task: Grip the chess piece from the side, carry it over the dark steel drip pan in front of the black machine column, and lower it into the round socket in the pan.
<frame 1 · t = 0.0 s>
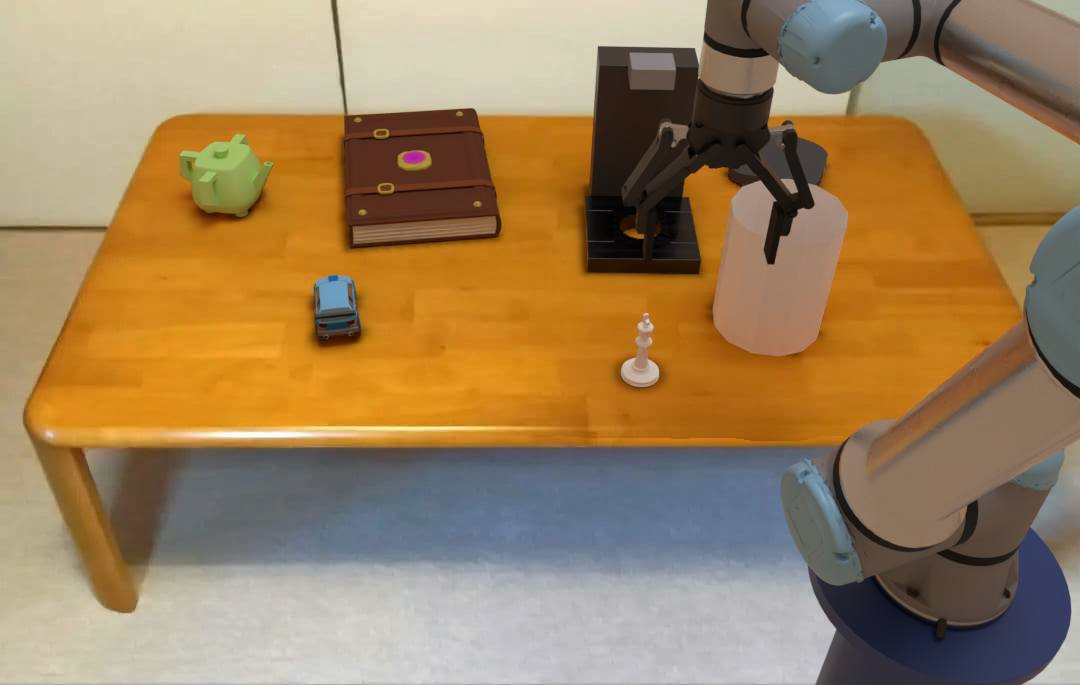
hand: (707, 256, 113), 21 cm above the table, tool pointing down, fingers open, 13 cm apart
toy car: (337, 319, 137), on the table
container: (765, 321, 139), on the table
machine column: (634, 198, 160), on the table
teapot: (234, 203, 157), on the table
book: (419, 185, 162), on the table
media streaming box: (776, 171, 167), on the table
chess piece: (639, 375, 130), on the table
drip pan: (639, 240, 152), on the table
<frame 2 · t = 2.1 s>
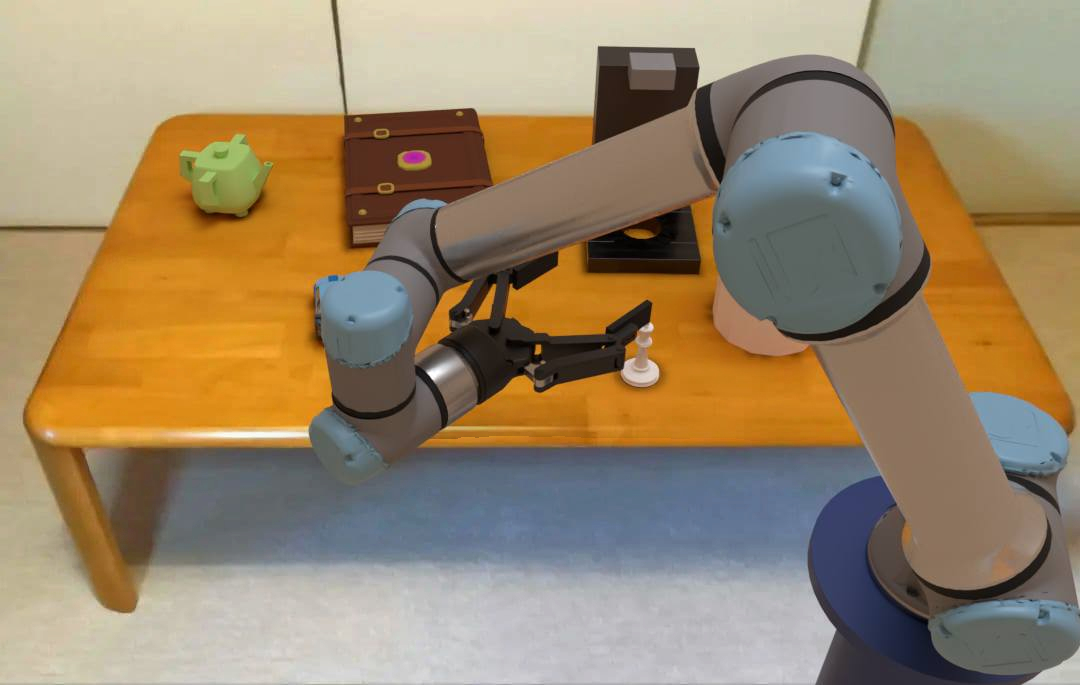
hand: (601, 281, 111), 20 cm above the table, tool horizontal, fingers open, 13 cm apart
nothing on the table moved.
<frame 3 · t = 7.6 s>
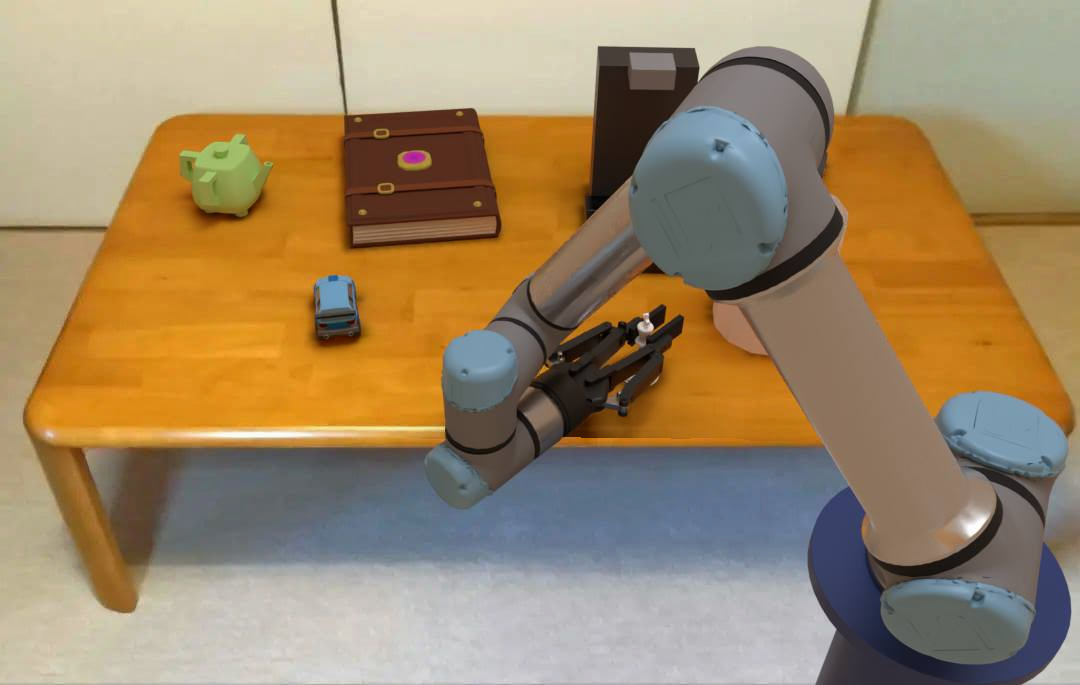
hand: (671, 318, 129), 6 cm above the table, tool horizontal, fingers closed on chess piece, 2 cm apart
chess piece: (639, 375, 130), on the table, touching gripper
everything else where it was.
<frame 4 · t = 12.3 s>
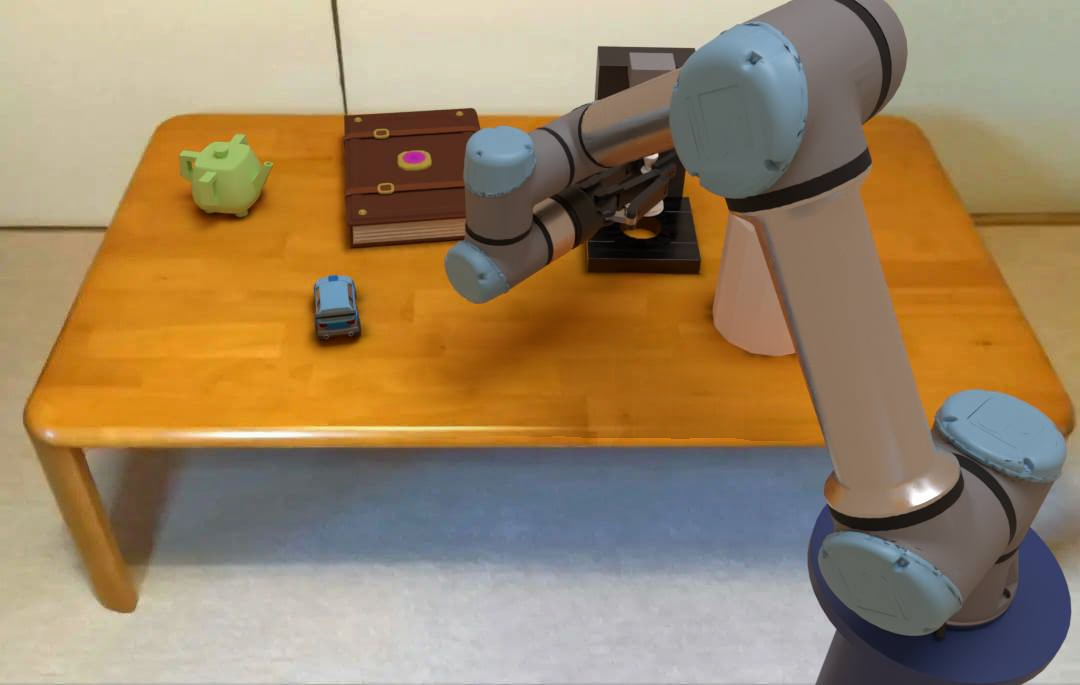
hand: (675, 152, 136), 18 cm above the table, tool horizontal, fingers closed on chess piece, 2 cm apart
chess piece: (644, 207, 137), point 12 cm above the table, touching gripper
everything else where it was.
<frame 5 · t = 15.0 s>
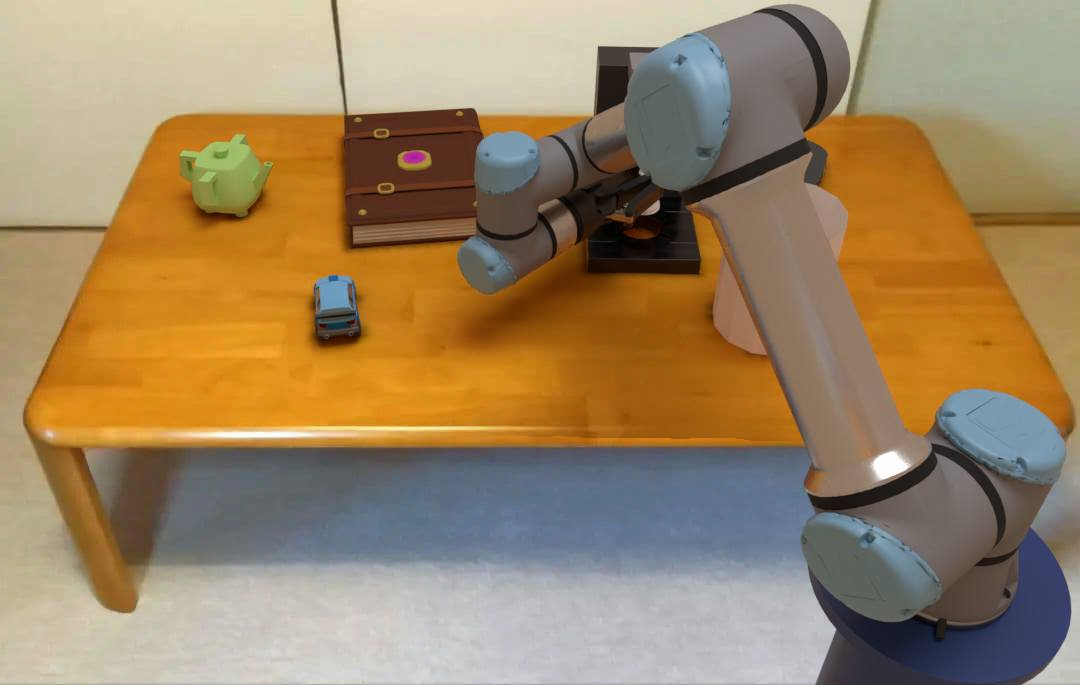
hand: (670, 155, 147), 12 cm above the table, tool horizontal, fingers closed on chess piece, 2 cm apart
chess piece: (642, 206, 148), point 6 cm above the table, touching gripper
everything else where it was.
when the fingers open (6 cm above the table, at t = 16.9 s): chess piece stays where it is, resting in drip pan.
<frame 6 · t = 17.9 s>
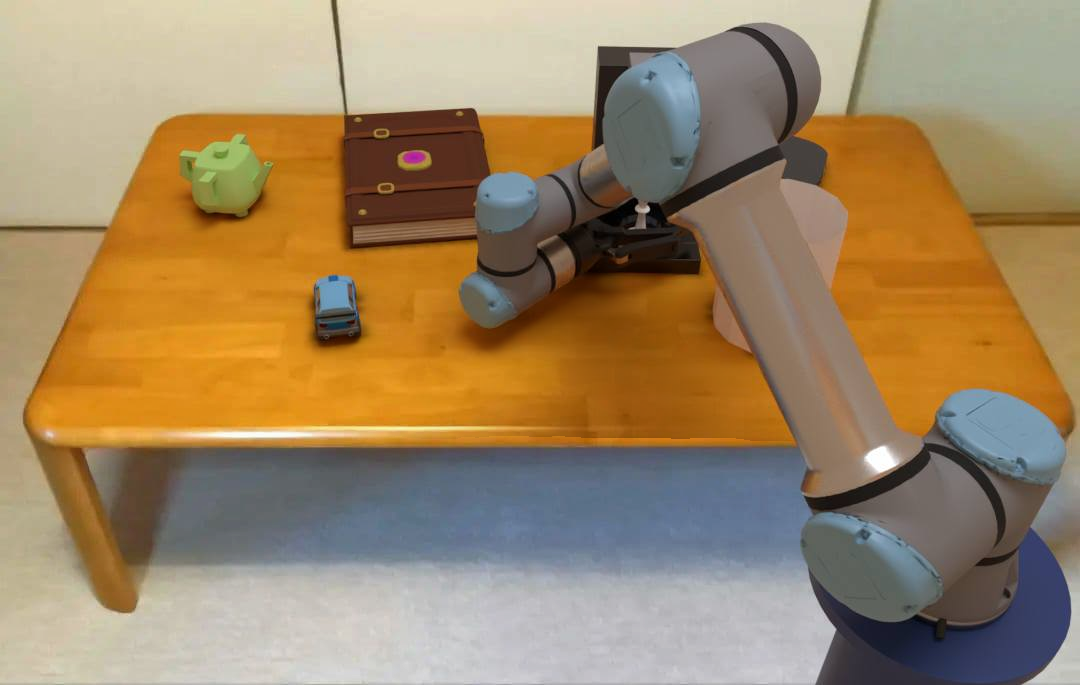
hand: (657, 194, 149), 7 cm above the table, tool horizontal, fingers open, 13 cm apart
chess piece: (639, 241, 152), resting in drip pan
everything else where it was.
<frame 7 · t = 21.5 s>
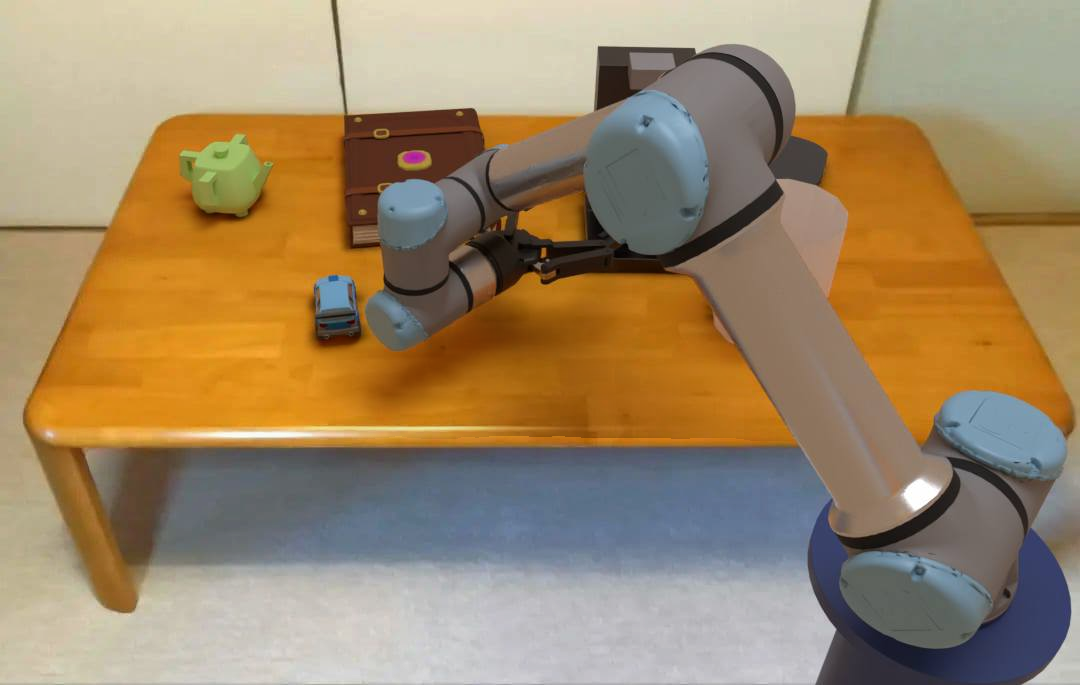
hand: (594, 203, 137), 12 cm above the table, tool horizontal, fingers open, 13 cm apart
nothing on the table moved.
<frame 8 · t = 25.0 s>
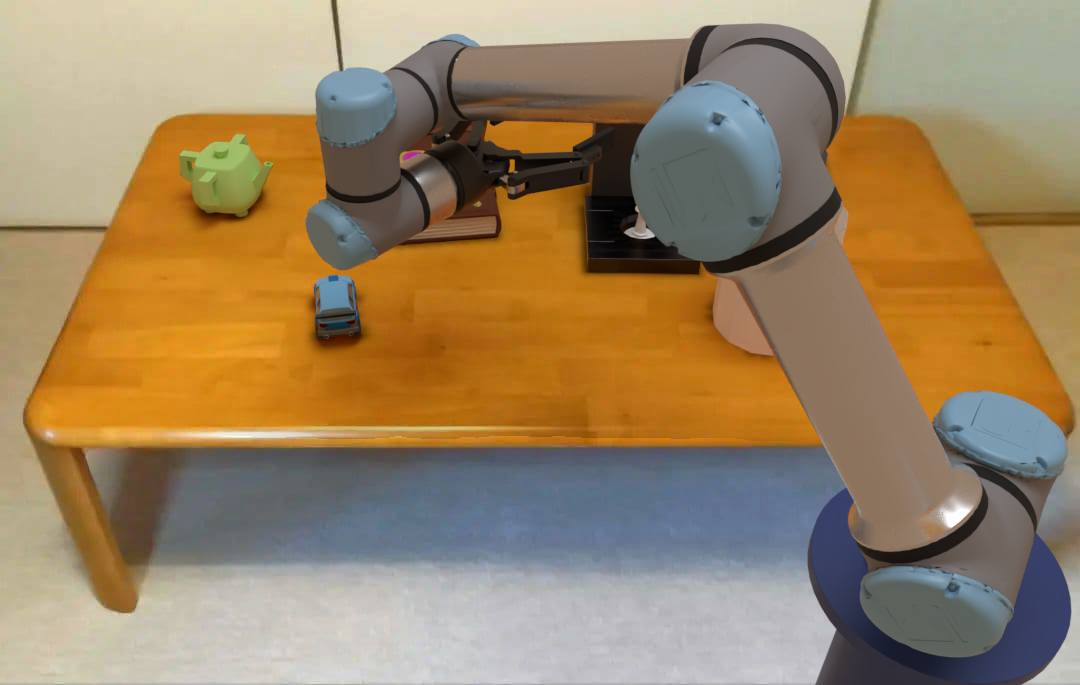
hand: (570, 116, 123), 28 cm above the table, tool horizontal, fingers open, 13 cm apart
nothing on the table moved.
at the end: chess piece 0.0 cm off-centre in the drip pan, point 0.0 cm above the drip pan's base; chess piece tilted 0°; the gripper is holding nothing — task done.
